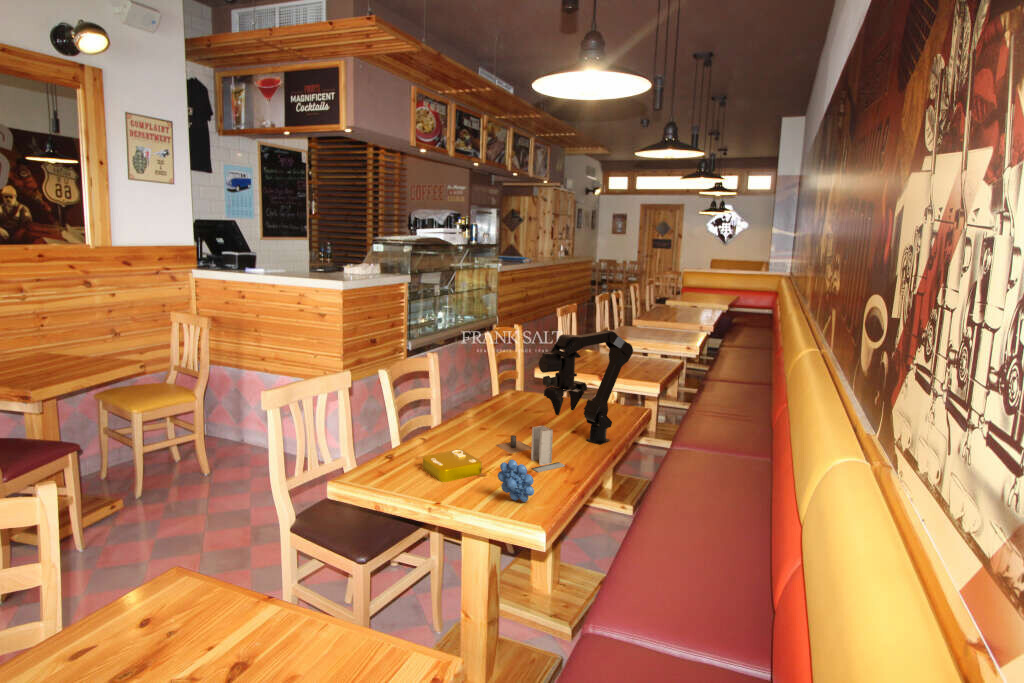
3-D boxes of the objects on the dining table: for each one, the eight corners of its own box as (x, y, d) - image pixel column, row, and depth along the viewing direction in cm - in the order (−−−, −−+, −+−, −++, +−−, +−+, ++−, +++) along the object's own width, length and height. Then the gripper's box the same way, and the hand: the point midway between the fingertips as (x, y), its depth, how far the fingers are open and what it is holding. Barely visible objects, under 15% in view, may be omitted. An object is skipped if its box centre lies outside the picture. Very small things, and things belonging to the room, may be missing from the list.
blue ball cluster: (490, 501, 174) (490, 461, 172) (501, 493, 180) (502, 454, 178) (526, 510, 169) (527, 469, 167) (537, 501, 175) (538, 461, 173)
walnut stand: (518, 443, 225) (518, 430, 224) (534, 451, 217) (534, 437, 216) (495, 447, 219) (495, 434, 219) (510, 456, 211) (510, 442, 210)
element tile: (420, 468, 199) (420, 454, 198) (460, 460, 207) (460, 447, 206) (442, 484, 187) (442, 469, 186) (483, 474, 195) (484, 460, 194)
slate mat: (545, 456, 212) (545, 455, 212) (564, 466, 203) (564, 465, 203) (518, 461, 206) (518, 460, 206) (537, 472, 197) (538, 471, 197)
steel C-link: (541, 459, 208) (542, 425, 206) (551, 464, 203) (552, 429, 201) (531, 461, 205) (532, 427, 203) (540, 466, 201) (541, 431, 199)
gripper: (563, 363, 229) (562, 403, 232) (532, 370, 215) (531, 413, 218) (588, 368, 222) (586, 409, 225) (557, 375, 208) (556, 419, 211)
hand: (564, 412), depth 220 cm, fingers open, 9 cm apart
